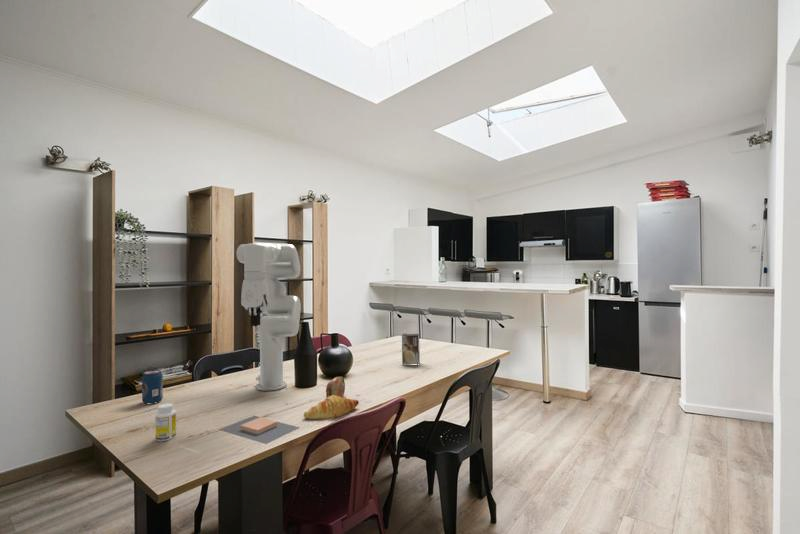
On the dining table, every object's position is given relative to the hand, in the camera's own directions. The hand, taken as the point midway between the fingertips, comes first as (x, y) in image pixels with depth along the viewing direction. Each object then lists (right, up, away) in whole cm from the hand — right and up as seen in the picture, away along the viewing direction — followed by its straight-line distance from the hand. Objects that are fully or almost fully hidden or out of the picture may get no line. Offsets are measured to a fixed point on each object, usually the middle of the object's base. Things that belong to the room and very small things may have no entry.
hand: (255, 325), depth 152 cm
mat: (+8, -31, -20) cm, 38 cm away
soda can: (-44, -32, +8) cm, 54 cm away
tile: (+5, -30, -18) cm, 35 cm away
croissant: (+30, -31, -6) cm, 44 cm away
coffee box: (+60, -31, +67) cm, 95 cm away
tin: (+29, -31, +9) cm, 43 cm away
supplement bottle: (-18, -32, -26) cm, 45 cm away
